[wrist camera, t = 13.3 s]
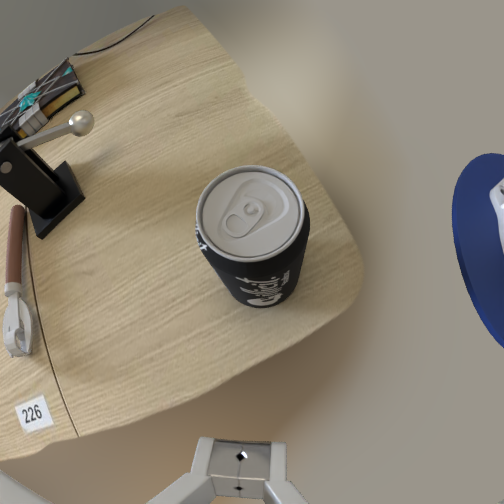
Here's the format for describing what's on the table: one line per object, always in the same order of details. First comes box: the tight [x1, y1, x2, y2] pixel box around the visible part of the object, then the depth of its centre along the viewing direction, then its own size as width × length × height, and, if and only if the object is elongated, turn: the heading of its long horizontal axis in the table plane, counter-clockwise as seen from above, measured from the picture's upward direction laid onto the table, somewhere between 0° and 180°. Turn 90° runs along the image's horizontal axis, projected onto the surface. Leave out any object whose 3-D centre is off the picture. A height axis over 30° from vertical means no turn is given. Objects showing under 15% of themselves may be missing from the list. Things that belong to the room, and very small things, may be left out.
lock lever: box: [0, 110, 94, 151], centre depth 25 cm, size 13×3×3 cm, turn 131°
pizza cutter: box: [3, 205, 33, 358], centre depth 27 cm, size 20×6×3 cm, turn 24°
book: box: [0, 57, 85, 139], centre depth 39 cm, size 22×17×5 cm
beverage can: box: [196, 165, 310, 308], centre depth 21 cm, size 7×7×12 cm
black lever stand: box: [0, 122, 85, 240], centre depth 26 cm, size 8×8×13 cm
